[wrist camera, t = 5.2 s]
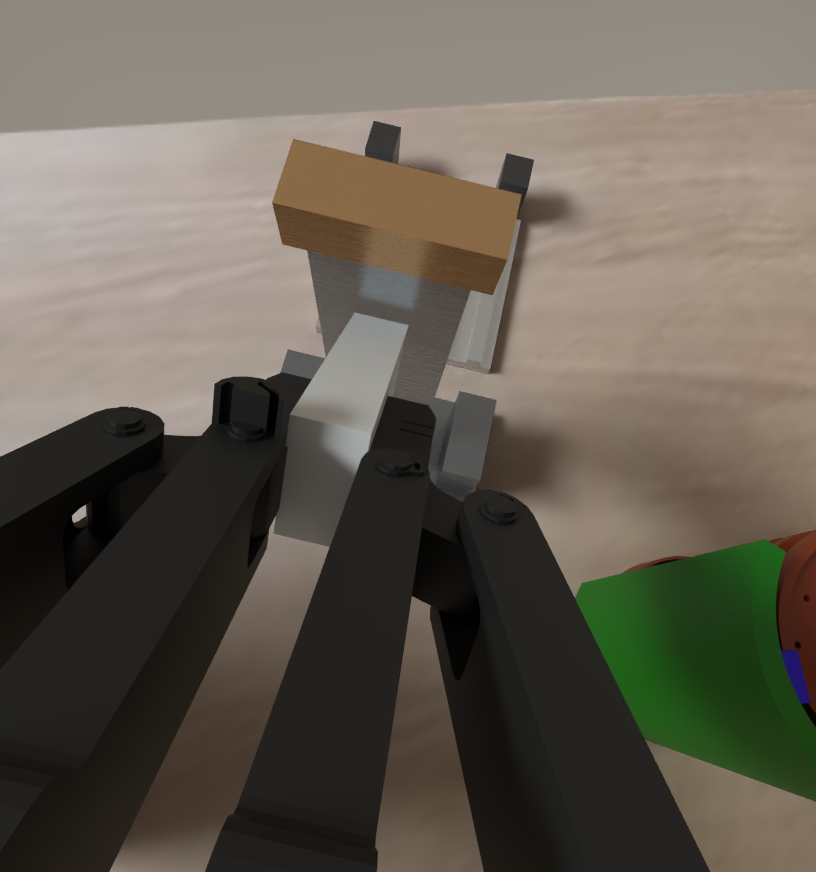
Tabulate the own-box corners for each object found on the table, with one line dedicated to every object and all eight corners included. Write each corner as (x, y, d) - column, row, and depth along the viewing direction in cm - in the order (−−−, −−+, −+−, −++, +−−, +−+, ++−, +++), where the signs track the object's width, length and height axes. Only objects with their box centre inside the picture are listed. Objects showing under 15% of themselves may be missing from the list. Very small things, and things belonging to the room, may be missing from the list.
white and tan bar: (433, 425, 33) (529, 179, 14) (423, 469, 33) (508, 278, 13) (337, 402, 33) (294, 122, 13) (325, 445, 33) (262, 217, 13)
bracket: (531, 202, 39) (555, 143, 34) (466, 520, 33) (485, 503, 28) (360, 160, 39) (360, 96, 34) (264, 471, 33) (248, 445, 28)
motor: (744, 554, 34) (1243, 462, 15) (785, 735, 31) (1451, 908, 12) (560, 568, 33) (839, 489, 14) (588, 756, 30) (975, 979, 11)
